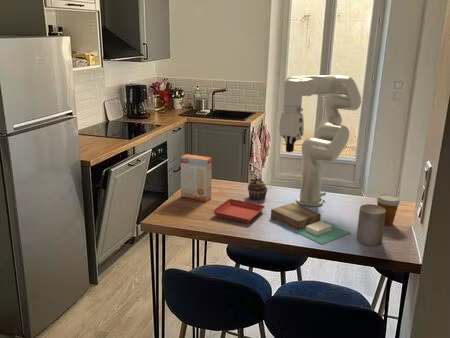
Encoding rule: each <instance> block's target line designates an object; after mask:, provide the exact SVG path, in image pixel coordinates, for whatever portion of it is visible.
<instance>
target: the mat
mask: <svg viewBox="0 0 450 338" xmlns="http://www.w3.org/2000/svg"><path fill="white" fill-rule="evenodd" d="M322 222H324V223H326V224H329V225H331V226H332V228H331V231H328V232H325V233H323V234H320V235H314V234H312V233H310V232H308V231H306V228H303V229H300V230H296V231H294V232H295V233H297V234H299V235H301V236H303V237H305V238H307V239H309V240H311V241H314V242H316V243H317V244H320V245H325V244H327V243H330V242H332V241H335V240H337V239H340V238H343V237H344V236H347V235H349V234H351V231H348V230H346V229H344V228H340V227H339V226H337V225H334V224H331V223H329V222H327V221H322Z"/></svg>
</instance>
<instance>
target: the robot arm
mask: <svg viewBox="0 0 450 338" xmlns="http://www.w3.org/2000/svg"><path fill="white" fill-rule="evenodd" d="M358 88H359V87H358V85H357V83H356V82H355V80H354V79H353V78H352V77H351V76H349V75H335V74H330V75H329V74H328V75H295V76H294V75H292V76H289V77H287V78H286V79H285V81H284V83H283V105H282V106H283V107H282V108H283V109H282V111H281V116H280V120H279V126H278V127H279V133H280V134H279V135H280V137H281V138H283V139H284V142H285V152H286V153H293V152H294V150H295V149H294V148H295V143H296V142H297V141H301V140H302V137H303V136H304V133H305V131H304V130H305V127H304V126H305V125H304V123H305V122H304V115H303V114H304V113H303V111H304V108H302V106H303V105H302V102H303V97H312V96H314V95H315V96H316V95H317V96H322V95H326V97H325V116H324V118H322V120H321V122H320V123H319V125H318V126H317V128H316V129H315V131H314V137H308V138H306V139H304V141H303V142H302V144H301V156H302V167H301V168H302V169H301V180H300V190H299V191H300V192H299V193H300V194H299V196H297V197H296V202H297V204H298V205H300V206H303V207H304V206H305V207H319V206H322V205H323V203H324V200H323V199H322V197H324V196H326V195H327V194H326V191H322V180H323V179H322V178H323V169H324V168H323V164H322V162H326V163H333V162H335V161H336V160H337V159H338V158H339V156H340V154H341V153H342V151H343V150H344V148H345V147H346V145H347V143H348V141H349V139H350V130H349V128H348V127H347V126H346V125H344V124H342V123H343V118H342V116H341V113H340V112H339V110H346V111H357V110H358V109H360V107H361V105H362V96H361V93H360V90H359V89H358ZM321 191H322V192H321Z"/></svg>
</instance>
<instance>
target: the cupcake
mask: <svg viewBox="0 0 450 338" xmlns="http://www.w3.org/2000/svg"><path fill="white" fill-rule="evenodd" d="M247 185H248V186H247V190H248V196H249V199H251V200H253V201H263V200H266V196H267V192H268V188H267V185H266V183H265V182H264V180H263V179H262V178H258V177H254V178H252V179H251V178H250V181H249V183H248V184H247Z"/></svg>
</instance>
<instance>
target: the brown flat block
mask: <svg viewBox="0 0 450 338" xmlns="http://www.w3.org/2000/svg"><path fill="white" fill-rule="evenodd" d="M270 210H271V211H270V219H273V220H274V221H277V222H279V223H281V224H283V225H285V226H288V227H289V228H292V229H294V230H296V231H298V230H300V229H303V228H306V226H308V225H310V224H313V223H316V222H319V221H321V213H320V212H318V211H315V210H313V209H310V208H307V207H306V206H305V207H304V205H301V204H299V203H295V202H292V203H288V204H284V205H281V206H277V207H274V208H271V209H270Z"/></svg>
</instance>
